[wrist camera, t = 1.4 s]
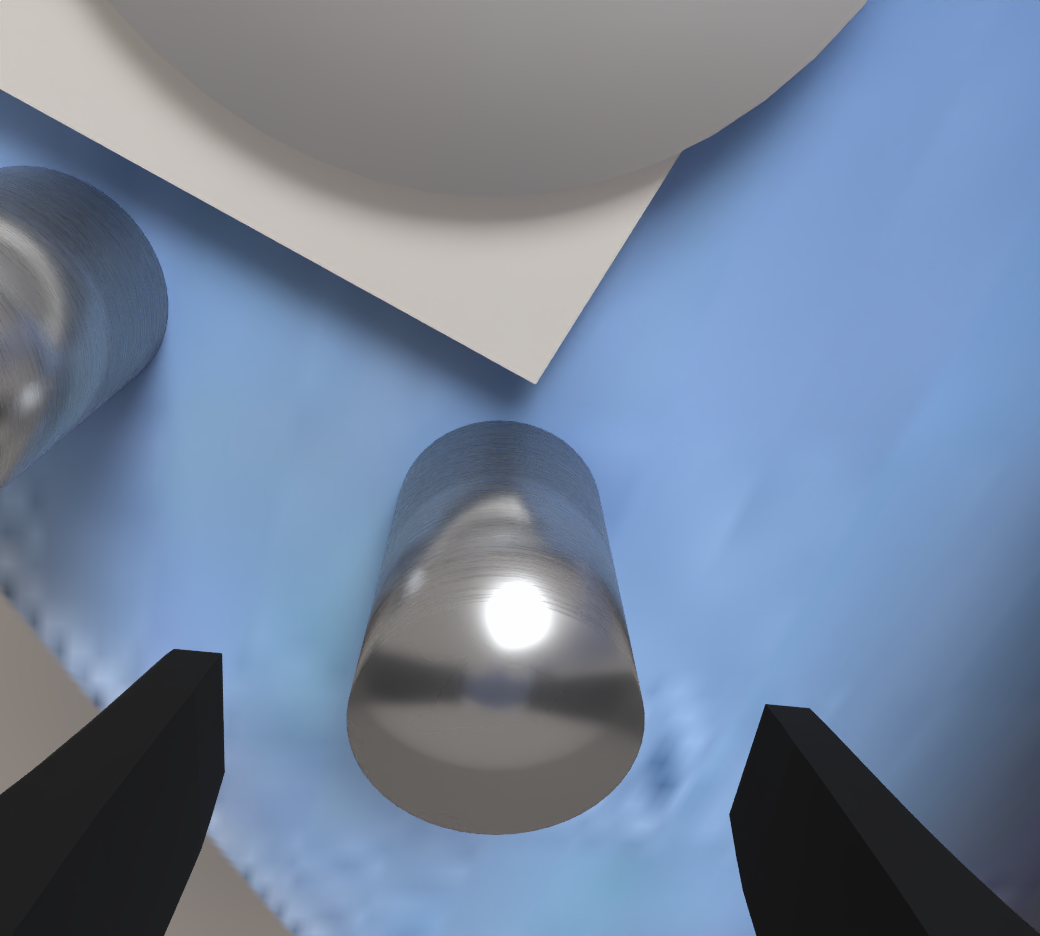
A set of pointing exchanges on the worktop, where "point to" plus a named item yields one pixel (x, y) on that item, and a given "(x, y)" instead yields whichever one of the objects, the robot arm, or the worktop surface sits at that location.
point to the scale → (420, 128)
